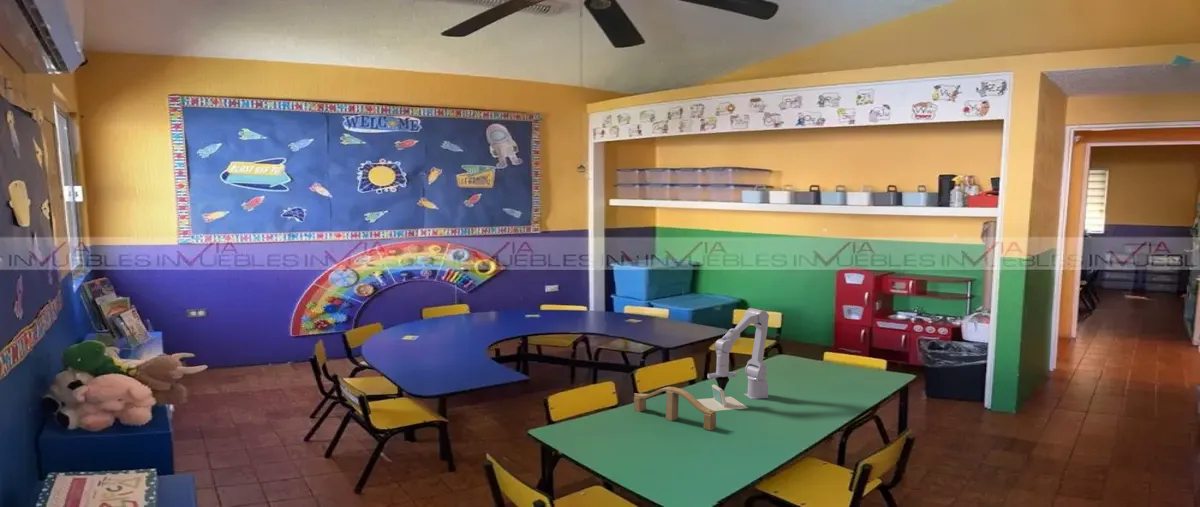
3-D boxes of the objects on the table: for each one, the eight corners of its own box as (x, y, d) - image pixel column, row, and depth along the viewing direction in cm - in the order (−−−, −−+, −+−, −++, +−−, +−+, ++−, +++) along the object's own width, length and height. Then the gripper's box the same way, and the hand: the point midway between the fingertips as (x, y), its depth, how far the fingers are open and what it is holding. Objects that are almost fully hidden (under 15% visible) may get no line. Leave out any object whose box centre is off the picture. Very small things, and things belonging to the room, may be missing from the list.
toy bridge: (716, 428, 308) (717, 396, 307) (709, 431, 304) (710, 399, 302) (637, 407, 335) (638, 377, 333) (630, 410, 331) (630, 380, 329)
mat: (731, 397, 351) (731, 396, 351) (748, 408, 334) (748, 407, 334) (689, 400, 345) (689, 399, 345) (705, 412, 328) (705, 411, 328)
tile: (717, 399, 345) (714, 384, 344) (726, 406, 335) (723, 390, 334) (714, 400, 345) (711, 385, 343) (723, 407, 335) (720, 391, 334)
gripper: (732, 361, 344) (731, 388, 345) (705, 363, 340) (704, 390, 341) (739, 365, 337) (738, 392, 339) (711, 366, 333) (710, 395, 335)
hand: (721, 392), depth 340 cm, fingers closed
